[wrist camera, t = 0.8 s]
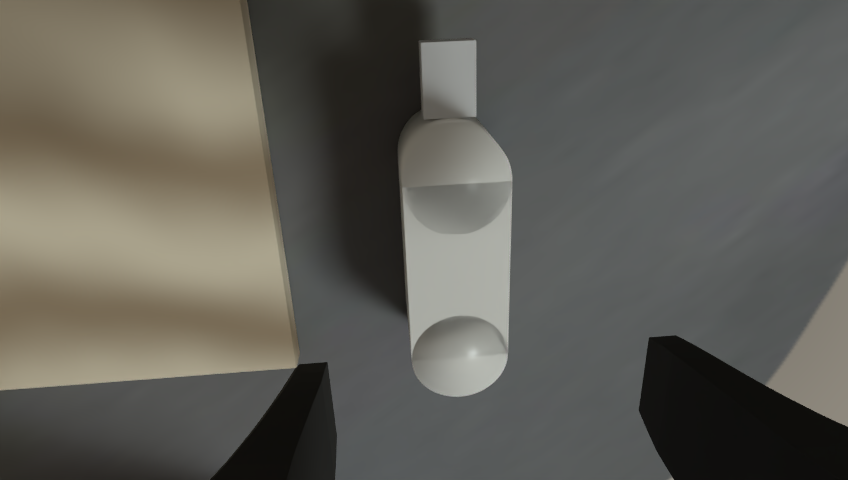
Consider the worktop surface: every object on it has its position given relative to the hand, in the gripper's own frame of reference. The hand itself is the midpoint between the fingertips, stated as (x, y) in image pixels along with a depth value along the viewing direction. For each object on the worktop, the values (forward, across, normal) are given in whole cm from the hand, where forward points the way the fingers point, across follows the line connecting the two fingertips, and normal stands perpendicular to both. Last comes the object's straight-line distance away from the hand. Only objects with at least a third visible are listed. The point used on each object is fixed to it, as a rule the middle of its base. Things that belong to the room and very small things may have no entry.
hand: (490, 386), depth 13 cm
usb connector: (+9, 0, -1) cm, 9 cm away
